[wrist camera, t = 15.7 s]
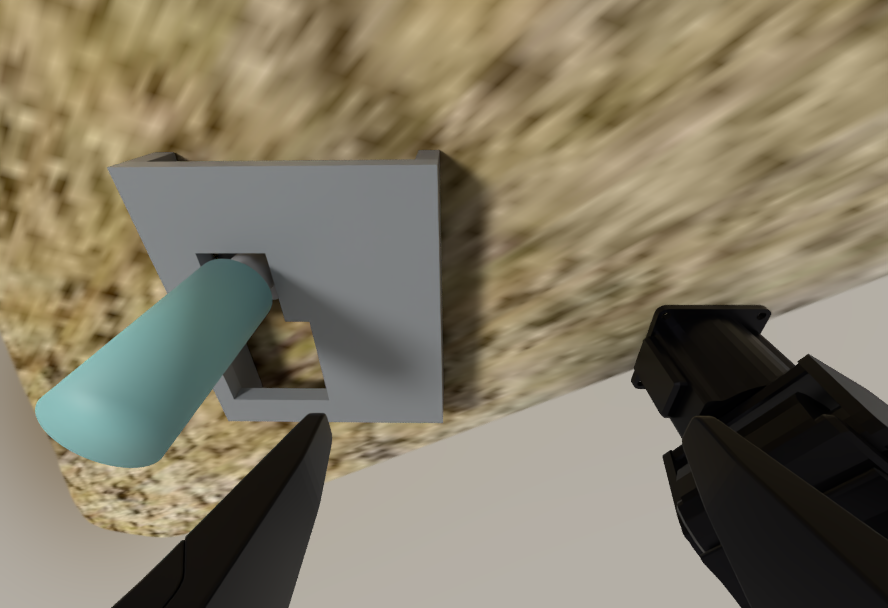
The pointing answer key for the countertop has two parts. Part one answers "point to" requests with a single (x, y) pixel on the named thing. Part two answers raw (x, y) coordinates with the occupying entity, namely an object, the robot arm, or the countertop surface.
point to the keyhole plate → (314, 271)
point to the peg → (160, 365)
